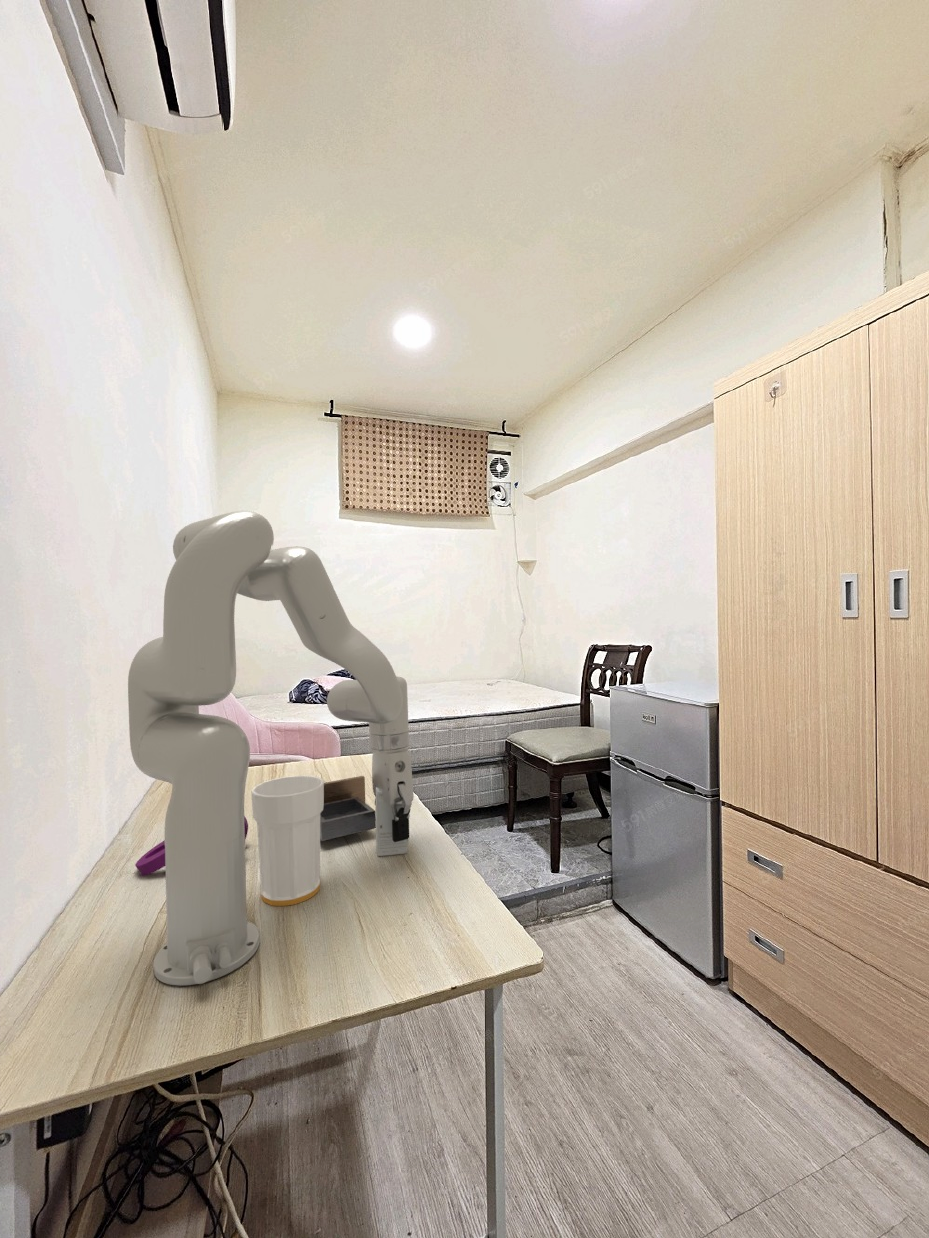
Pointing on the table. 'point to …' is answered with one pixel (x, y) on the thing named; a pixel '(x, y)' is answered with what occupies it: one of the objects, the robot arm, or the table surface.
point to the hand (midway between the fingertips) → (392, 832)
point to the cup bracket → (345, 809)
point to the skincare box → (386, 829)
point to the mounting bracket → (160, 857)
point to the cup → (289, 837)
